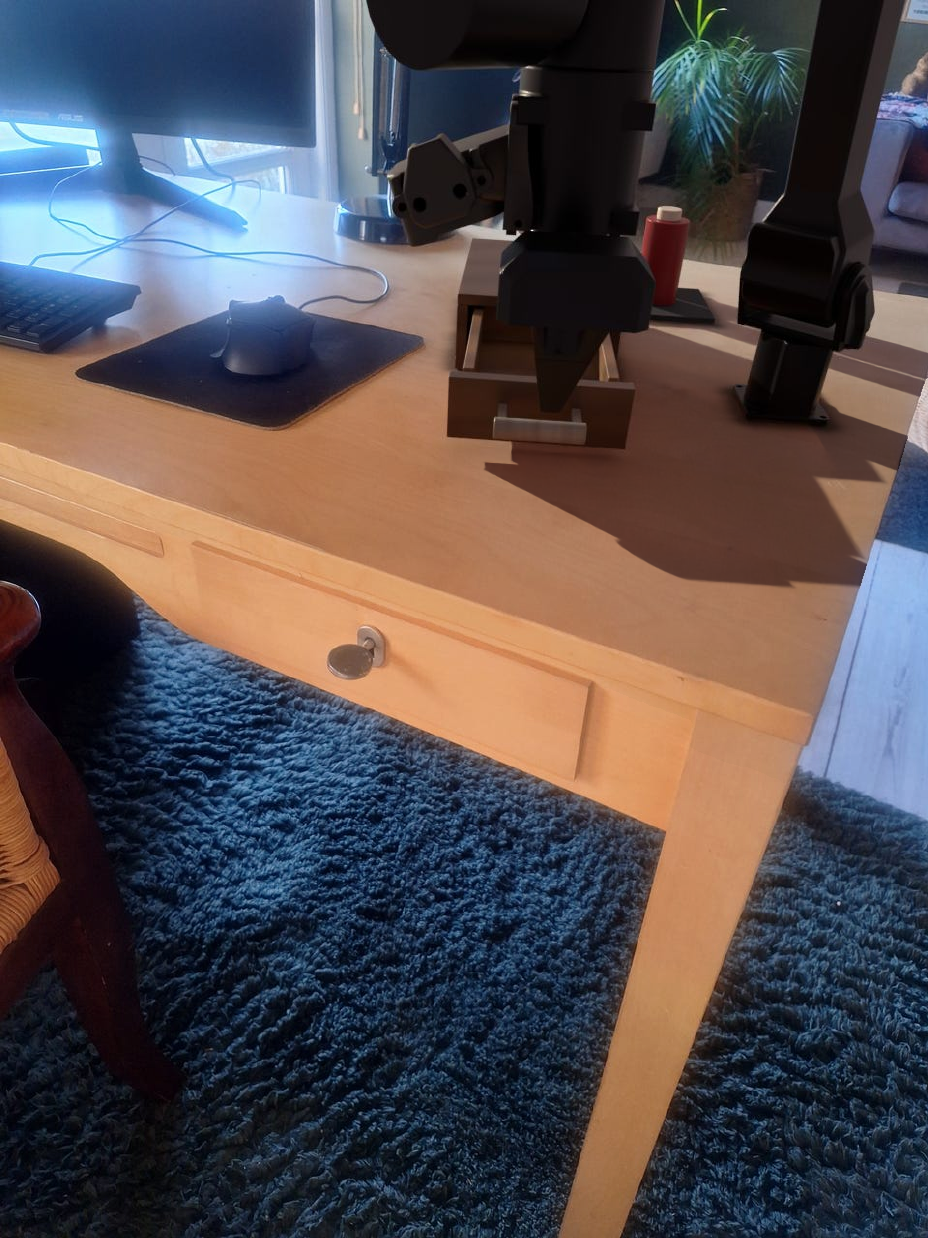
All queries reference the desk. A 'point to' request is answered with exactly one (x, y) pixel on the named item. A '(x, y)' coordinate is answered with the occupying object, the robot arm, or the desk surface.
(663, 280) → the glue bottle
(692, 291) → the desk mat
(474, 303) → the cabinet
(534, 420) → the drawer
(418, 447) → the desk surface
